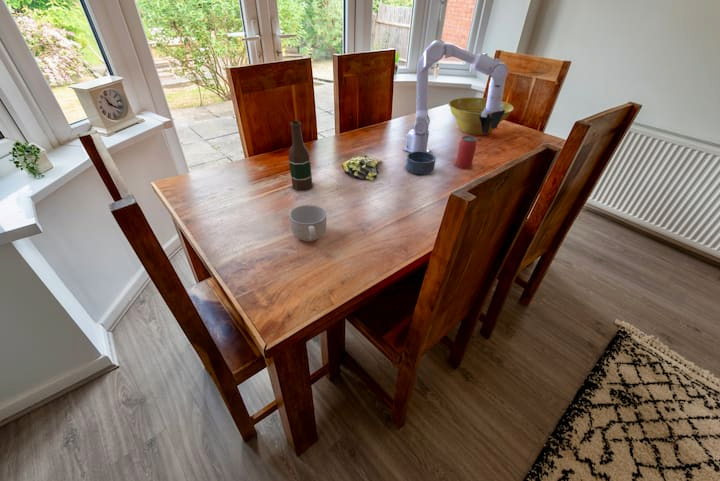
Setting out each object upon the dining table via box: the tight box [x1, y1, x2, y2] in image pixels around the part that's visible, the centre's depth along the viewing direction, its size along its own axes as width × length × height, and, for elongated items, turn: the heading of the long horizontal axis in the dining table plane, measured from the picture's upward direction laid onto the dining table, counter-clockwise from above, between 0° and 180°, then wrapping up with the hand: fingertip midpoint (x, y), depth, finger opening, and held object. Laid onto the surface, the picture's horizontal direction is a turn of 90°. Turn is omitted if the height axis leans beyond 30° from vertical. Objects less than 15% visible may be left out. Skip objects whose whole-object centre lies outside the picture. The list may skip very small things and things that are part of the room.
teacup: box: [288, 204, 328, 242], centre depth 94 cm, size 14×11×8 cm
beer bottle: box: [288, 120, 313, 192], centre depth 115 cm, size 8×8×24 cm
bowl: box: [405, 151, 437, 175], centre depth 133 cm, size 12×12×6 cm
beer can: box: [455, 135, 477, 170], centre depth 134 cm, size 7×7×12 cm
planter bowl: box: [447, 96, 515, 136], centre depth 168 cm, size 32×32×13 cm
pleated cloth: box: [341, 153, 382, 182], centre depth 134 cm, size 20×16×6 cm
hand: (489, 130), depth 137 cm, fingers open, 7 cm apart
